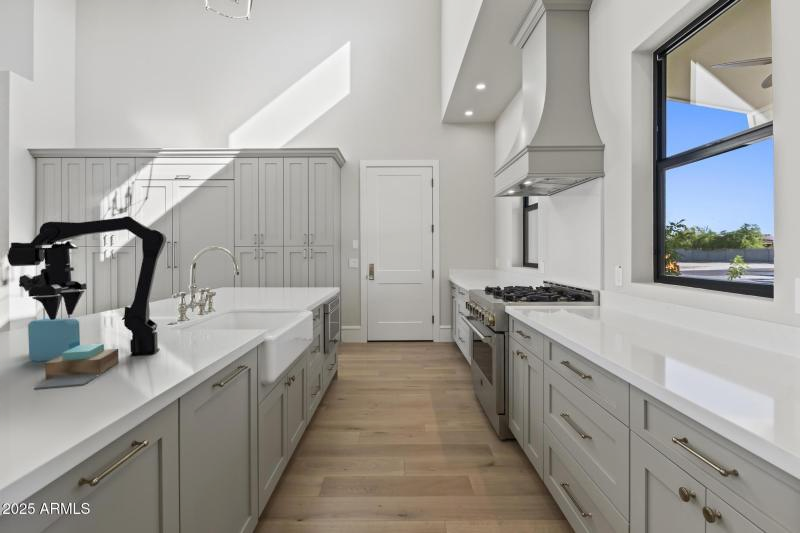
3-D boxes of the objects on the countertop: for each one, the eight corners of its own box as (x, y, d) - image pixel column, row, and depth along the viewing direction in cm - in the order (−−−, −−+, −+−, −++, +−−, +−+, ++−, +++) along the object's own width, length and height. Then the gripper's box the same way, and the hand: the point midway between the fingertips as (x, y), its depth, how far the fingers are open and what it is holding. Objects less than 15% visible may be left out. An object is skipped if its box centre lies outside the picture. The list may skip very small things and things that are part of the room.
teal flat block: (104, 350, 114) (103, 343, 114) (89, 358, 106) (89, 351, 106) (79, 352, 113) (79, 345, 113) (62, 360, 104) (62, 352, 104)
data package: (80, 357, 123) (79, 318, 122) (68, 361, 118) (67, 321, 118) (42, 357, 123) (41, 318, 123) (28, 361, 119) (27, 321, 118)
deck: (118, 362, 117) (118, 348, 117) (100, 374, 105) (100, 359, 105) (69, 365, 113) (69, 351, 113) (45, 378, 102) (45, 363, 102)
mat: (102, 373, 106) (102, 371, 106) (84, 385, 97) (84, 383, 97) (57, 376, 103) (57, 375, 103) (34, 389, 94) (34, 387, 94)
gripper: (44, 264, 125) (47, 314, 125) (2, 267, 107) (7, 324, 107) (85, 263, 128) (89, 311, 128) (52, 265, 110) (56, 321, 110)
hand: (61, 317), depth 119 cm, fingers open, 9 cm apart
